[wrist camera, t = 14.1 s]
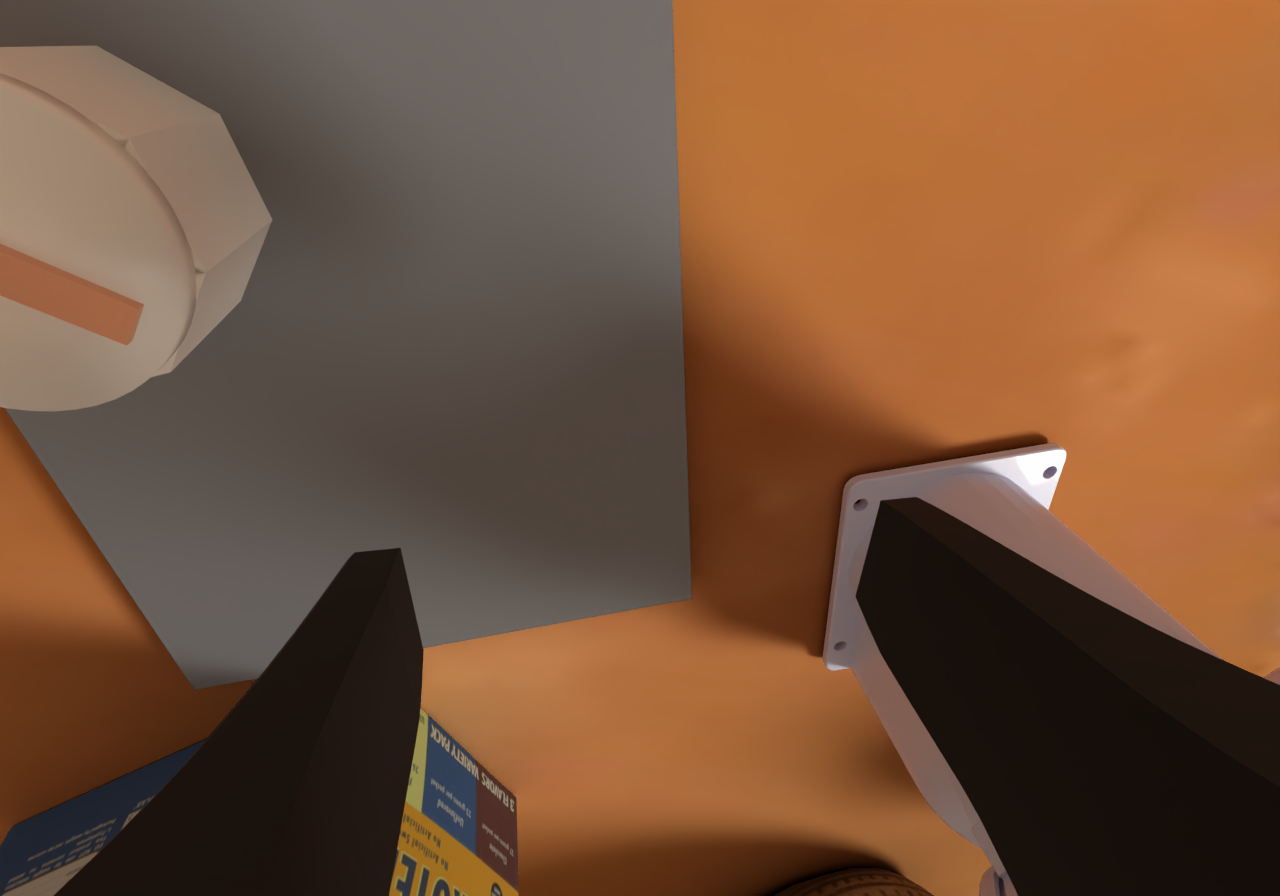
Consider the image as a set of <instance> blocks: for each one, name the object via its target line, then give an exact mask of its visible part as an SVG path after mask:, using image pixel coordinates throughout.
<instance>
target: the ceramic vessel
mask: <svg viewBox="0 0 1280 896" xmlns="http://www.w3.org/2000/svg"><path fill="white" fill-rule="evenodd" d="M774 896H934V895H932V894H931V893H929V892H928V891H926V890H925V889H924V888H922V887H921V886H919V885H917V884H916V883H914V882H912V881H910V880H909V879H907V878H905V877H903V876H901V875H899V874H896V873H894V872H891V871H889V870H886V869H879V868H850V869H846V870H842V871H838V872H834V873H830V874H827V875H824V876H821V877H818V878H814V879H811V880H807V881H804V882H800V883H797V884H795V885H793V886H791V887H789V888H787V889H785V890H783V891H782V892H780V893H778V894H776V895H774Z"/></svg>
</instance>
